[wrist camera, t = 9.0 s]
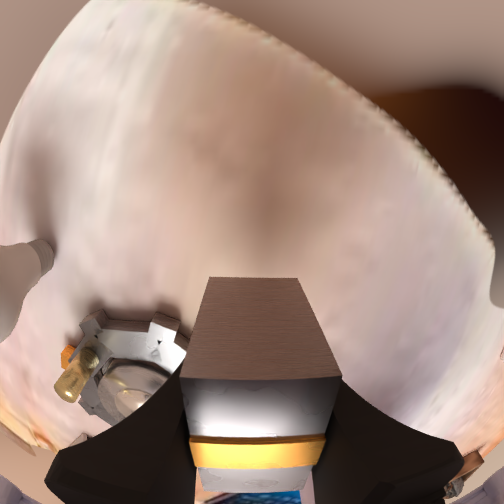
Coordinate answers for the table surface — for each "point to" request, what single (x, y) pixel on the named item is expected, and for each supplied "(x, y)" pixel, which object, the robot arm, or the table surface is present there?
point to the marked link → (257, 386)
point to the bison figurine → (454, 488)
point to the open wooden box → (470, 465)
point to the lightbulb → (20, 278)
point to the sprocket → (116, 354)
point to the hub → (129, 385)
